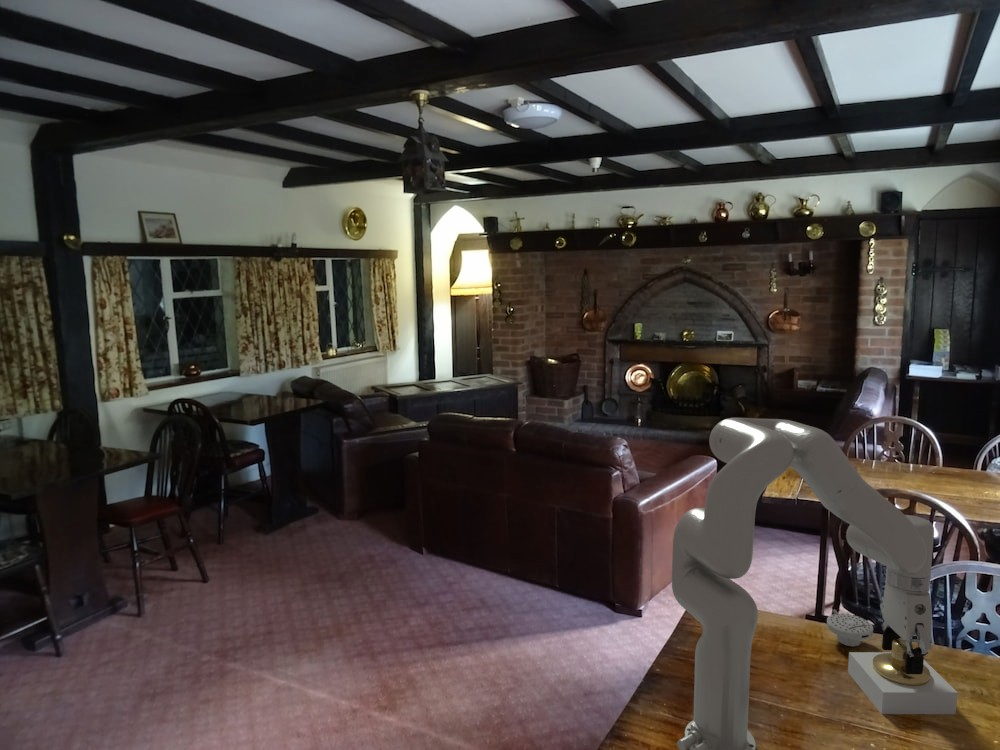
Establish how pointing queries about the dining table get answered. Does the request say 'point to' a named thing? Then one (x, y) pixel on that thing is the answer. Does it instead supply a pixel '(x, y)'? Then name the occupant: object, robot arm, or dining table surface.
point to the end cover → (898, 666)
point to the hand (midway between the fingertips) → (901, 660)
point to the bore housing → (901, 689)
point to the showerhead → (849, 628)
